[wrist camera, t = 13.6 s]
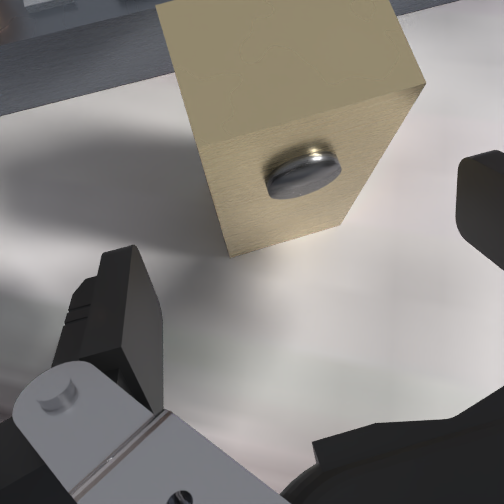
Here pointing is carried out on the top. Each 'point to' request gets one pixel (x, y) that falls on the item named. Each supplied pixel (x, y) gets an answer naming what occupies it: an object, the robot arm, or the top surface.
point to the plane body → (88, 47)
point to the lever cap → (289, 106)
